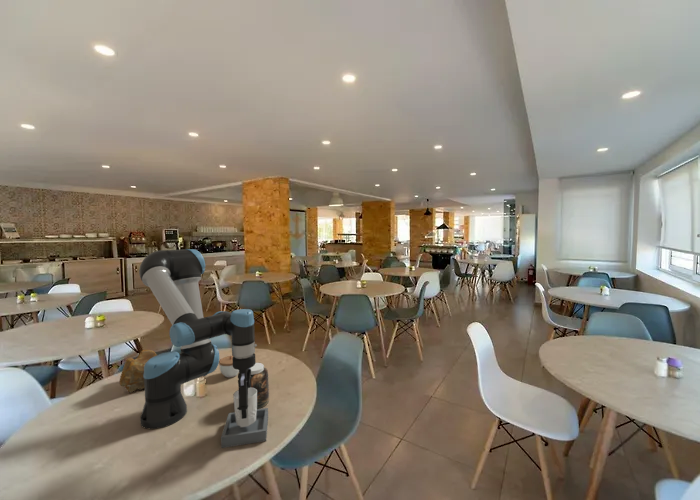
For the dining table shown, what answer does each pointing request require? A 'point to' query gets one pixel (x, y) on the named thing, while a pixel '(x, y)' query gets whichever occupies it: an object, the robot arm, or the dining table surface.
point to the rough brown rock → (135, 371)
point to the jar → (260, 384)
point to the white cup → (251, 403)
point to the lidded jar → (227, 367)
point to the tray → (245, 430)
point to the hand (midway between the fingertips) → (246, 418)
